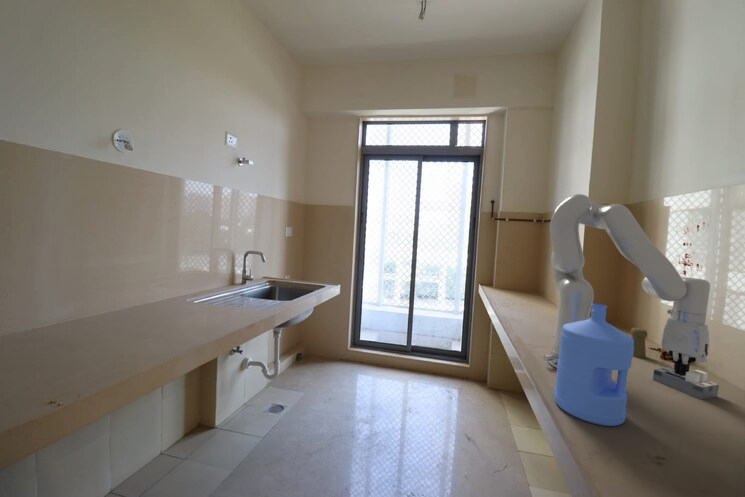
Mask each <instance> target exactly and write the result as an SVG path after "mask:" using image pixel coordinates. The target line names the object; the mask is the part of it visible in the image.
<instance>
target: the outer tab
mask: <svg viewBox="0 0 745 497" xmlns="http://www.w3.org/2000/svg"><path fill="white" fill-rule="evenodd" d="M693 372H694V373H696V374H699V375H700V379H699V381H700V382H702V383H704V382H707V381H708V376H709V375H708V374H709V373H708V372H706V371H702V370H700V369H695V370H693Z"/></svg>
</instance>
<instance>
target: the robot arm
mask: <svg viewBox="0 0 745 497" xmlns="http://www.w3.org/2000/svg"><path fill="white" fill-rule="evenodd" d="M580 224H581V225H584V226H587V227H592V228H597V229H600V230H605V232H606V234H607V235H608V236H609V237H610V239H611V240H612V242H613V244H614V245H615V247H616V249H617V250H618V252H619V253H620V254H621V255H622V256H623V257H624V258H625V259H626V260H628V261H629V262H631V263H632V264H633V265H635V266H636V268H638V269H639V270H640V271H641V272H642V274H643V276H644V278H643V279H642V280H641V287H642V289H643V291H645V293H647V294H648V295H649V296H652V297H654V298H657V299H661V300H663V301H666V302H673V304H672V309H668V310H667V314H670V317H668V318H667V320H666V321H665V322H666V323H665V325H664V327H663V331H662V335H661V340H660V346H662V348H661V349H662V350H663V351H664V352H666V353H668V354H669V355H670V356H671V357H672V358H673V359H672V360H673V361H674V367H673V369H674V370H675V374H679V375H680V376H685V375H686V372H688V371H690V364H693V363H707V362H708V360H707V356H709V350H710V333H709V332H710V331H709V327H708V326H709V325H707V324H706V321H707V311H708V304H709V298H710V289H711V284H710V282H709V281H708V280H707V279H702V278H695V277H683V276H681V275H680V274H679V271H678V270H677V269H676V267H675V266H674V265H673V263H672V262H671V261H670V260H669V259H668V258H667V257H666V255H664V254H663V253H662V252H661V250H660V249H659V248H658V247H657V246H656V245H655V244H654V243H653V242H652V241H651V240H650V238H649V237H648V236H647V234H646V232H645V231H644V230H643V228H642V227H641V225H640V224H639V222H638V221H637V220H636V218H635V216H634V215H633V213H632V212H631V211H630V209H629V208H628V207H626V206H625V205H623V204H621V203H612V204H607V205H606V204H600V203H596V202H592V200H591V198H590V197H589V196H587V195H585V194H580V193H577V194H573V195H570V196H569V197H566V198H565V199H564V200H563V201H562V202H561V203H560V204H559V205H558V206H557V207H556V208H555V210H554V213H552V217H551V219H550V223H549V232H550V238H551V240H550V241H551V246H552V253H551V256H550V264H551V269H552V274H553V278H554V279H553V280H554V284H555V287H556V291H557V292H558V295H559V301H558V307H557V312H556V314H557V315H556V322H555V332H554V341H553V350H551V354H545V355H543V356H542V358H543V360H544V362H547V363H548V364H549V365H551V367H554V368H556V369H557V364H558V360H559V351H560V342H561V341H560V337H561V331H562V327H563V325H565V324H568V323H573V322H578V321H583V320H588V319H590V318H591V316H590V314H591V310H592V308H593V306H592V304H594V303H593V302H594V296H595V294H594V288H593V286H592V285H591V283H590V282H589V281H588V280H586V279H585V278H584V274H583V269H584V266H585V261H586V260H585V255H584V251H583V248H582V243H581V240H580V233H579V226H580Z"/></svg>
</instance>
